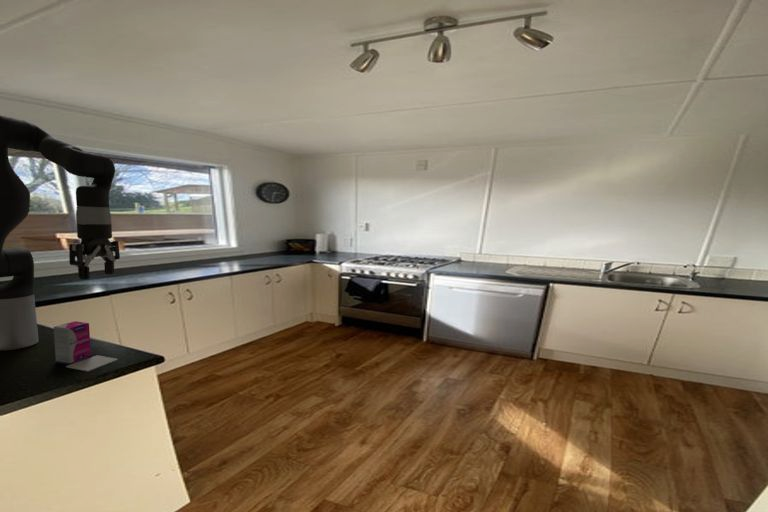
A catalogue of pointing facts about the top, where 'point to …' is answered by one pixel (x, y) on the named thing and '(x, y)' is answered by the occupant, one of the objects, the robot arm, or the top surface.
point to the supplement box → (72, 342)
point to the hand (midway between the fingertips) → (97, 276)
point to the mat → (92, 363)
